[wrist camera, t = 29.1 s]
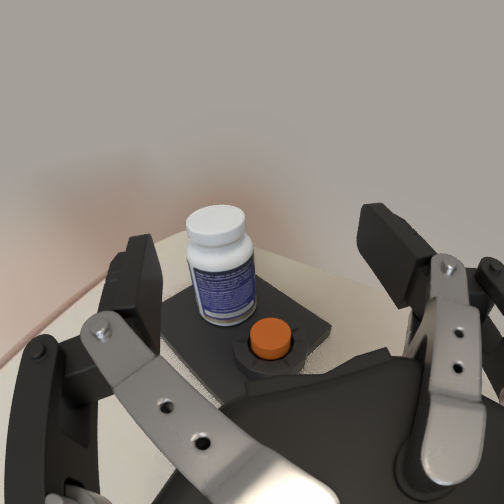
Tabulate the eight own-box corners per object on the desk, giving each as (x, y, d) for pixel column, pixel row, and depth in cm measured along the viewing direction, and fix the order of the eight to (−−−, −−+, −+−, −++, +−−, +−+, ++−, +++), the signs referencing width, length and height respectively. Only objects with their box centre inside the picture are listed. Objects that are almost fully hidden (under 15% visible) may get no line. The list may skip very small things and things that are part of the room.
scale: (235, 269, 36) (233, 248, 34) (338, 340, 27) (344, 320, 25) (148, 321, 30) (140, 301, 28) (242, 426, 21) (239, 412, 19)
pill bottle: (269, 305, 29) (267, 216, 23) (223, 338, 26) (207, 248, 20) (231, 278, 33) (221, 194, 27) (187, 305, 30) (165, 219, 24)
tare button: (270, 323, 26) (270, 311, 25) (298, 343, 24) (299, 332, 23) (243, 344, 24) (241, 332, 23) (270, 367, 22) (270, 356, 21)
